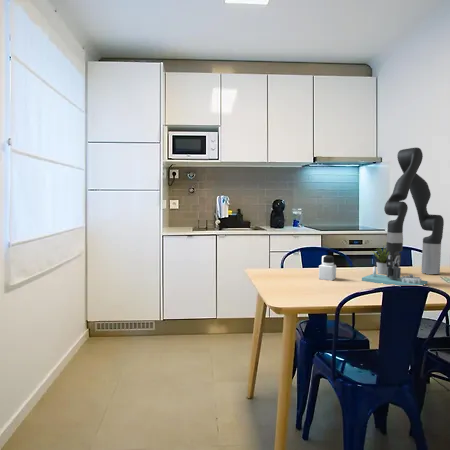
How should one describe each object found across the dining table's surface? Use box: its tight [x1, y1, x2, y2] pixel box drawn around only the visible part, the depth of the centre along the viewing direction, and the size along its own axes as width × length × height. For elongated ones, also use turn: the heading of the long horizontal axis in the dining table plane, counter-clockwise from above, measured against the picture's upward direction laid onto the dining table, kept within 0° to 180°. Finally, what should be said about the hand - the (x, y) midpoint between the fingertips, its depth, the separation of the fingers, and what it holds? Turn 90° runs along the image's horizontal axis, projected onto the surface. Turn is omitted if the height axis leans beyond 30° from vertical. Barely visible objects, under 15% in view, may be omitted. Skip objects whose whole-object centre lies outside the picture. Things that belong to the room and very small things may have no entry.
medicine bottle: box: [318, 254, 337, 281], centre depth 210 cm, size 7×7×12 cm
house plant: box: [371, 245, 390, 275], centre depth 227 cm, size 14×14×16 cm
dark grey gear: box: [386, 266, 402, 279], centre depth 203 cm, size 6×6×5 cm
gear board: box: [361, 266, 429, 286], centre depth 203 cm, size 15×27×7 cm, turn 48°
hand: (393, 274), depth 203 cm, fingers closed on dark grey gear, 6 cm apart
